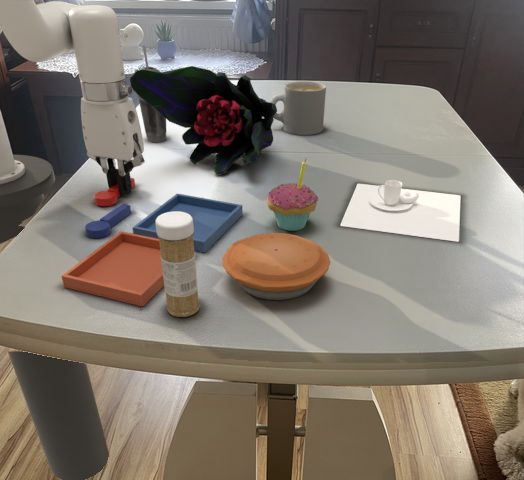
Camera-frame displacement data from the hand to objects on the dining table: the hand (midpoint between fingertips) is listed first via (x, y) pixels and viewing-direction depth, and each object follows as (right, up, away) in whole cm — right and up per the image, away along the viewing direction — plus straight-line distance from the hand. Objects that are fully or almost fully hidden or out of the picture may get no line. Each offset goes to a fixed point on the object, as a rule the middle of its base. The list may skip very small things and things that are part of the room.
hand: (120, 192), depth 106 cm
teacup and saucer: (+53, -5, -5) cm, 54 cm away
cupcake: (+32, -9, -10) cm, 35 cm away
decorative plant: (+19, +9, +12) cm, 25 cm away
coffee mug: (+36, +25, +32) cm, 55 cm away
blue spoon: (+1, -9, -11) cm, 14 cm away
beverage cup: (+2, +20, +25) cm, 32 cm away
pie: (+29, -20, -24) cm, 43 cm away
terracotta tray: (+8, -19, -23) cm, 30 cm away
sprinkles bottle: (+16, -25, -30) cm, 43 cm away
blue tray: (+15, -9, -11) cm, 20 cm away
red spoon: (-1, -1, -1) cm, 2 cm away
